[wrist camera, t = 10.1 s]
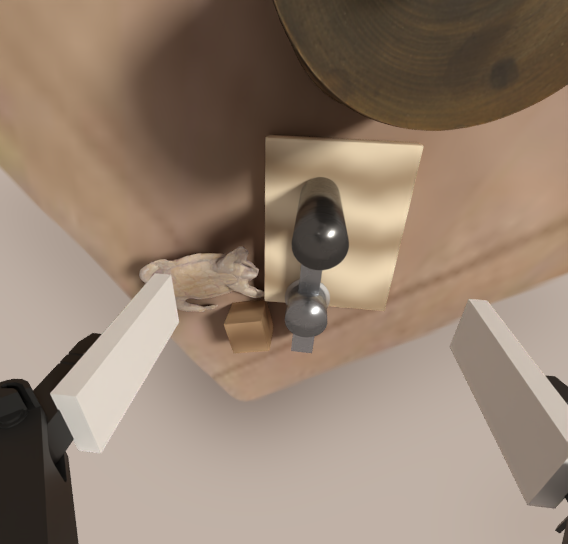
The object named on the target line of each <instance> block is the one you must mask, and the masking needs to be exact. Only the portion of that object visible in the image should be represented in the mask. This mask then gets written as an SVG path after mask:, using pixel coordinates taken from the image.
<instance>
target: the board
mask: <svg viewBox="0 0 568 544" xmlns="http://www.w3.org/2000/svg"><path fill="white" fill-rule="evenodd" d="M422 151H423V145H421V144H420V143H418V142H399V141H379V140H359V139H339V138H320V137H300V136H280V135H268V136H267V137H266V138H265V301H272V302H284V303H286V305H287V302H288V295H289V293H290V291H291V290H292V288H294V287H295V286H297V285H299V281H300V271H301V263H300V262H298V260H297V259H296V258H295V256H294V254H293V251H292V237H293V232H294V226H295V221H296V215H297V210H298V204H299V199H300V193H301V190H302V188H303V186H304V185H305V184H306V183H307V182H308V181H309V180H311V179H313V178H316V177H325V178H328V179H330V180H332V181H333V182H334V183H335V184H336V185H337V187H338V189H339V192H340V197H341V202H342V208H343V213H344V218H345V223H346V229H347V234H348V239H349V249H348V252H347V255H346V257H345V258H344V259H343V261H342V262H341V263H339V264H338V265H337V266H335V267H333V268H331V269H327V270H322V276H321V283H320V288H321V289H322V290H323V291H324V292H325V294H326V299H327V307H328V306H331V307H343V308H355V309H366V310H378V311H385V307H386V302H387V298H388V294H389V290H390V286H391V281H392V277H393V273H394V269H395V264H396V260H397V256H398V252H399V248H400V243H401V239H402V235H403V231H404V226H405V222H406V218H407V214H408V210H409V205H410V201H411V197H412V193H413V188H414V184H415V180H416V176H417V172H418V167H419V163H420V159H421V155H422Z"/></svg>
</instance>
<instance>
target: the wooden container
mask: <svg viewBox="0 0 568 544" xmlns="http://www.w3.org/2000/svg"><path fill="white" fill-rule="evenodd" d="M273 2H274V5H275V8H276V11H277V13H278V16H279V19H280V21H281V24H282V26H283V28H284V30H285V32H286V35H287V37H288V39H289V41H290V42H291V44H292V47H293V49H294V51H295V54H296V56H297V58H298V60H299V61H300V63H301V65H302V67H303V68H304V70H305V71H306V73H307V74H308V76H309V77H310V79H311V80H312V81H313V82H314V83H315V84H316V85H317V86H318V87H319V88H320V89H321V90H322V91H323V92H324V93H326V94H327V95H328V96H330V97H331V98H332V99H334V100H336V101H338V102H340V103H342V104H344V105H346V106H347V107H349V108H350V109H352V110H354V111H356V112H357V113H359V114H361V115H363V116H366V117H368V118H370V119H373V120H375V121H378V122H381V123H384V124H388V125H392V126H396V127H401V128H406V129H414V130H426V131H443V130H453V129H459V128H467V127H472V126H476V125H481V124H485V123H488V122H492V121H495V120H498V119H501V118H504V117H506V116H509V115H511V114H514V113H516V112H519V111H521V110H523V109H525V108H527V107H530V106H532V105H534V104H536V103H538V102H540V101H542V100H543V99H545V98H547V97H549V96H550V95H552V94H554V93H555V92H557V91H559V90H560V89H562V88H563V87H565V86H566V85H568V0H273Z"/></svg>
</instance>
